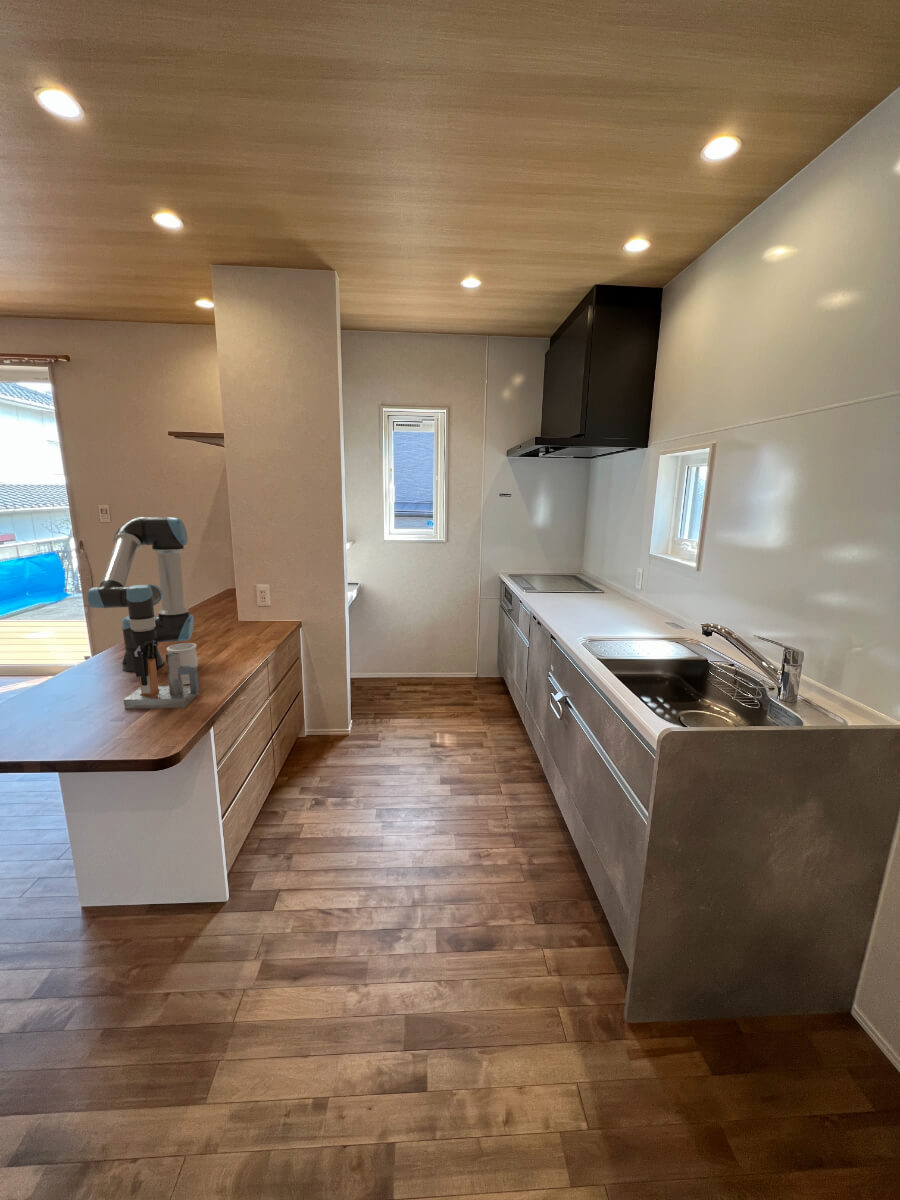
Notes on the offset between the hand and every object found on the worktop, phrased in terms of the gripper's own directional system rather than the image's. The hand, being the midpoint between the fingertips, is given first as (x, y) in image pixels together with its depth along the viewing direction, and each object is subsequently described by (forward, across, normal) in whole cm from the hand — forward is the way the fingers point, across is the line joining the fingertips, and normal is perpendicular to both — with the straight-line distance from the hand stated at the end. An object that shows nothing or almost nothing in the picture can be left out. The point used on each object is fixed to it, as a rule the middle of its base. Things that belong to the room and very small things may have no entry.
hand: (150, 690), depth 174 cm
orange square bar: (+4, 0, 0) cm, 4 cm away
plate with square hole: (+4, 0, +5) cm, 7 cm away
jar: (+5, -19, +4) cm, 20 cm away
